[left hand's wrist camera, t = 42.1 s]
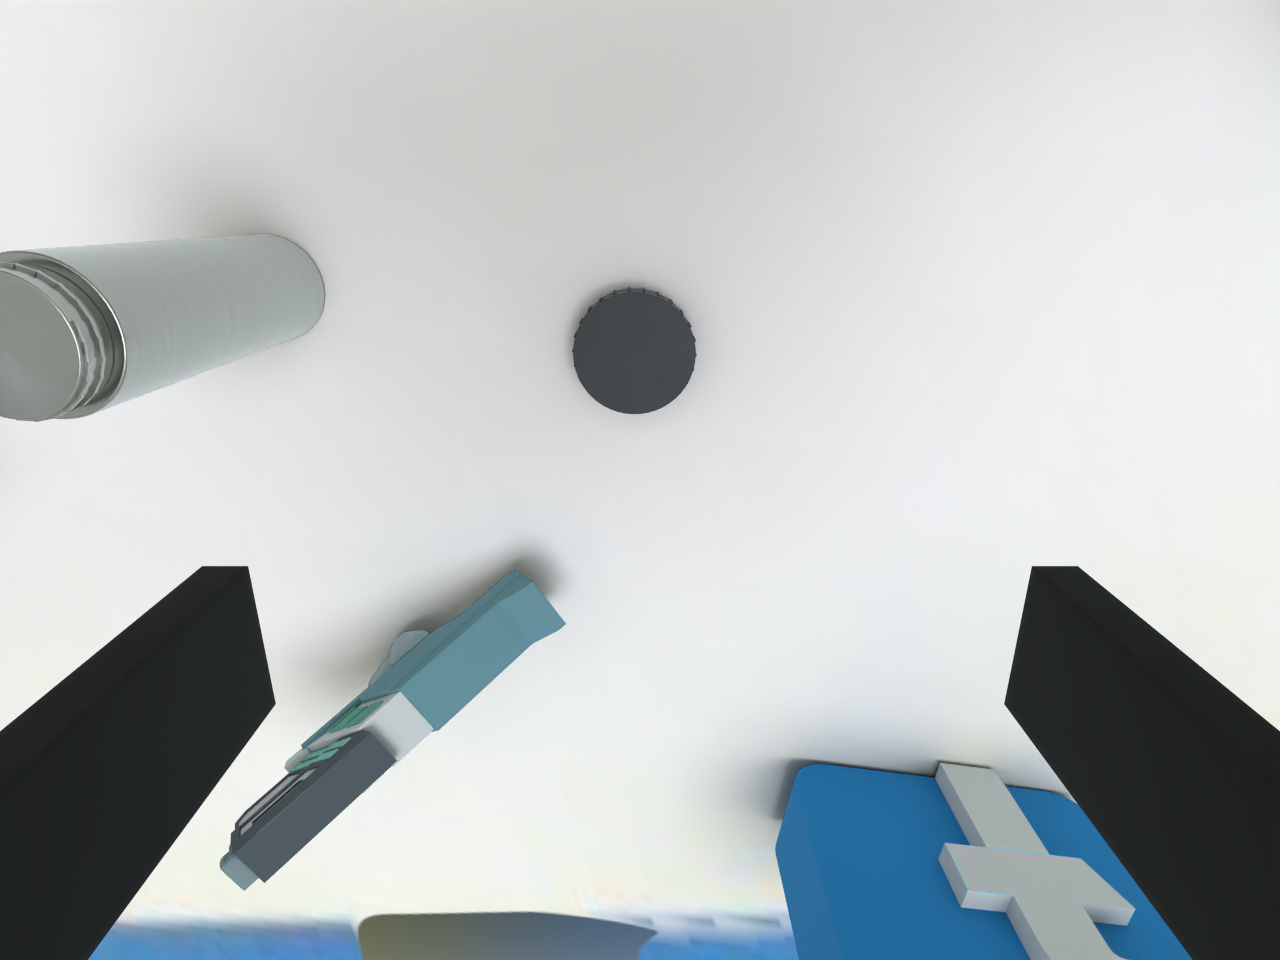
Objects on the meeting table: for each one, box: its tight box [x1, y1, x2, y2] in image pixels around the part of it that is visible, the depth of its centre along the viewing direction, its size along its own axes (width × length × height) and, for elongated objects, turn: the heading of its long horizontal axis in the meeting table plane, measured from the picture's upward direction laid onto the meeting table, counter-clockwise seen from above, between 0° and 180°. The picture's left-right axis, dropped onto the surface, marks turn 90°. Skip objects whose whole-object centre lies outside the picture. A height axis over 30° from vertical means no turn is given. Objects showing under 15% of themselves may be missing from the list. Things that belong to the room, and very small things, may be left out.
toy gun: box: [220, 569, 566, 890], centre depth 41 cm, size 4×19×10 cm
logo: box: [776, 763, 1192, 960], centre depth 41 cm, size 20×8×20 cm, turn 82°
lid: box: [572, 287, 696, 414], centre depth 39 cm, size 6×6×2 cm
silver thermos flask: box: [0, 234, 325, 422], centre depth 30 cm, size 5×5×17 cm
